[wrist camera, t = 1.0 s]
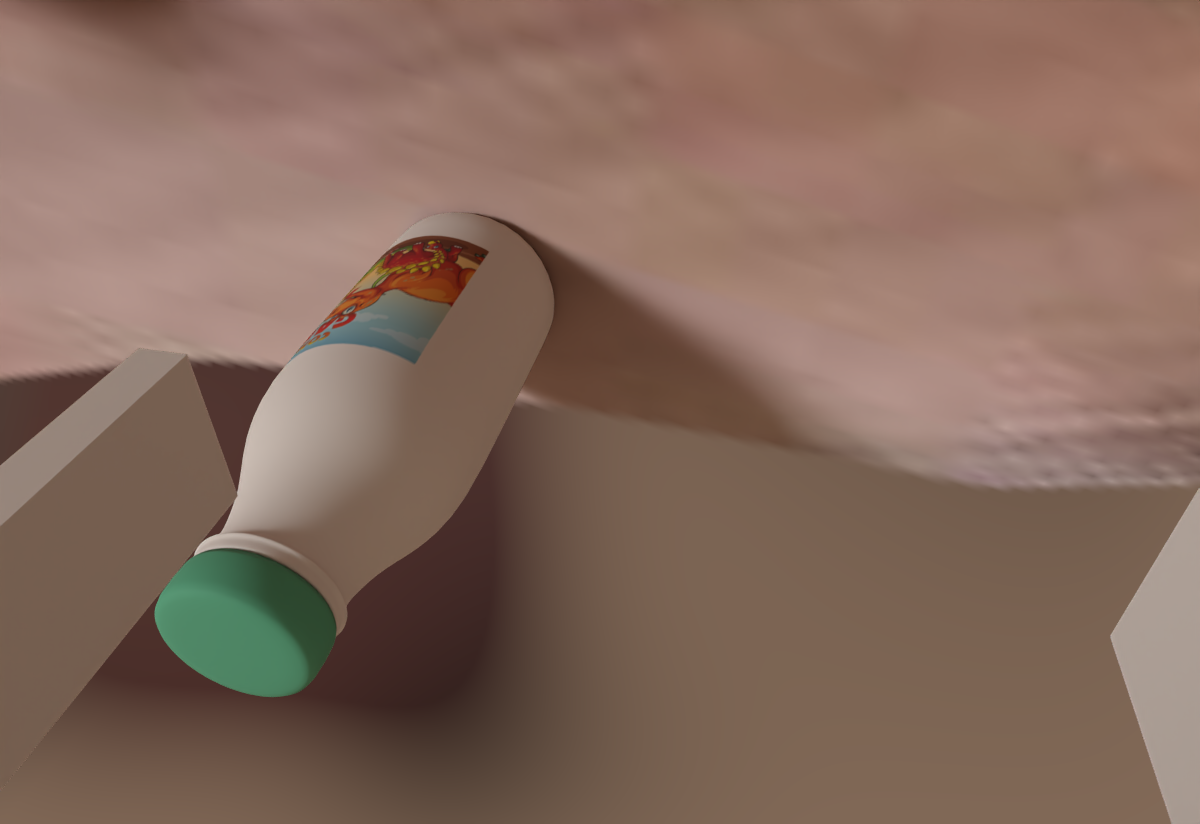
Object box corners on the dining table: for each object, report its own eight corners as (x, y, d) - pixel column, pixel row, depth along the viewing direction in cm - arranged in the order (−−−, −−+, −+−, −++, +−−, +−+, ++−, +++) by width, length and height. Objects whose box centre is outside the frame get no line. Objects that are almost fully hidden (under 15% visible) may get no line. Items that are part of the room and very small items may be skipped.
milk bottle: (577, 242, 35) (381, 615, 20) (537, 380, 40) (356, 767, 24) (404, 180, 35) (71, 506, 20) (385, 326, 40) (107, 679, 24)
